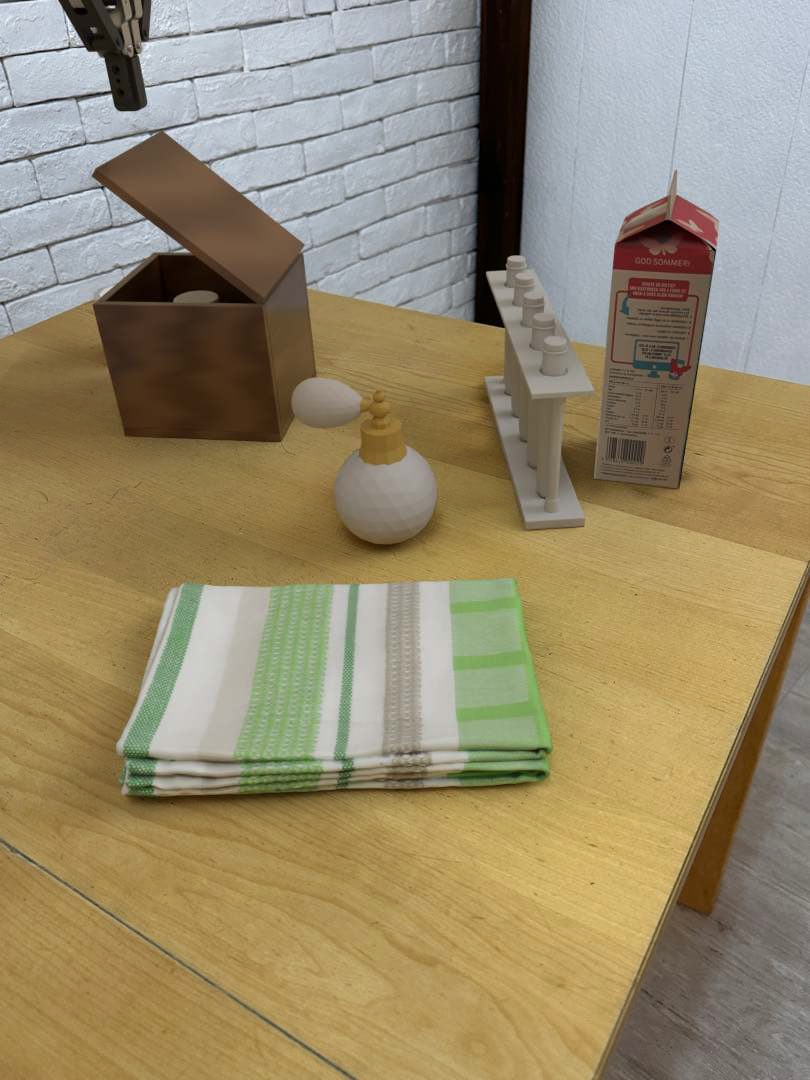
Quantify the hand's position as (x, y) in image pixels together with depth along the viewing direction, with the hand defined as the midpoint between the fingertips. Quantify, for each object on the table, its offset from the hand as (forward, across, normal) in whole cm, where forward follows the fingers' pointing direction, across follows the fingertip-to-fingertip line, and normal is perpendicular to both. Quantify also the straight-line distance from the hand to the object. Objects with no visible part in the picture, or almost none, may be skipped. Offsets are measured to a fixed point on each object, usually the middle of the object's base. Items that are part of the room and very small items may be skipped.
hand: (131, 109), depth 72 cm
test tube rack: (+26, +6, +32) cm, 42 cm away
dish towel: (+26, +36, +22) cm, 50 cm away
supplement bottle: (+25, 0, +2) cm, 25 cm away
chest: (+26, 0, +4) cm, 26 cm away
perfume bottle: (+26, +20, +22) cm, 39 cm away
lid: (+8, 0, +5) cm, 10 cm away
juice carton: (+26, +8, +42) cm, 50 cm away
